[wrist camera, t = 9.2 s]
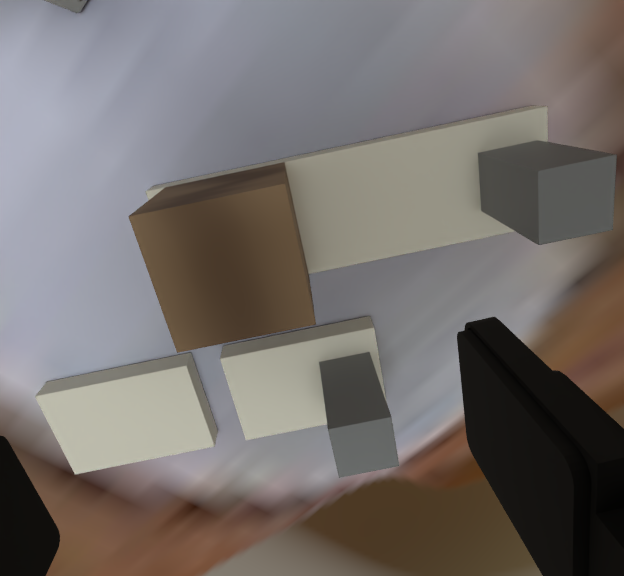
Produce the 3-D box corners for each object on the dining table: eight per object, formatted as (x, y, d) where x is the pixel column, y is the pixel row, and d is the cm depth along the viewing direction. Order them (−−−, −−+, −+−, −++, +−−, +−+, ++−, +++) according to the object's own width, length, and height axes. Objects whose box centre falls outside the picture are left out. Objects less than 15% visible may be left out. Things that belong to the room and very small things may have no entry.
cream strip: (532, 105, 24) (632, 110, 17) (533, 217, 26) (622, 261, 20) (153, 185, 25) (102, 222, 18) (187, 289, 27) (154, 357, 20)
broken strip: (369, 316, 28) (398, 388, 21) (383, 397, 31) (413, 486, 24) (46, 381, 29) (-29, 473, 22) (84, 457, 31) (27, 561, 24)
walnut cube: (284, 161, 23) (285, 183, 18) (308, 274, 25) (315, 324, 20) (165, 187, 23) (128, 216, 18) (200, 296, 26) (177, 352, 20)
